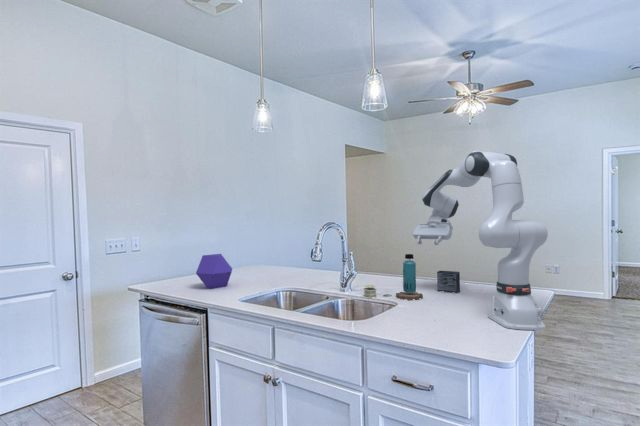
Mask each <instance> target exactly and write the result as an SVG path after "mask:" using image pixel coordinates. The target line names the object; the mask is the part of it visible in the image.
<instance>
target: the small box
mask: <svg viewBox="0 0 640 426" xmlns="http://www.w3.org/2000/svg"><path fill="white" fill-rule="evenodd" d="M460 273H461V272H460V271H455V270H454V271H453V270H452V271H451V270H438V271H437V273H436V275H437V278H436V279H437V281H436V282H437V284H436V285H437V292H440V291H444V292H443V293H452V292H455V293H454V294H458V293H460V292H461V285H460V284H461V282H460V279H461V276H460Z"/></svg>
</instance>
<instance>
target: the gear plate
mask: <svg viewBox="0 0 640 426" xmlns="http://www.w3.org/2000/svg"><path fill="white" fill-rule="evenodd" d="M396 297H397V299H400V300H401V299H403V300H402V301H404V299H408V300H407V301H419V300H423V298H424V295H423V293H419V292H418V291H417V292H404V291H399V292H396V293H395V298H396ZM419 298H421V299H419ZM413 299H415V300H413Z"/></svg>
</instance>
